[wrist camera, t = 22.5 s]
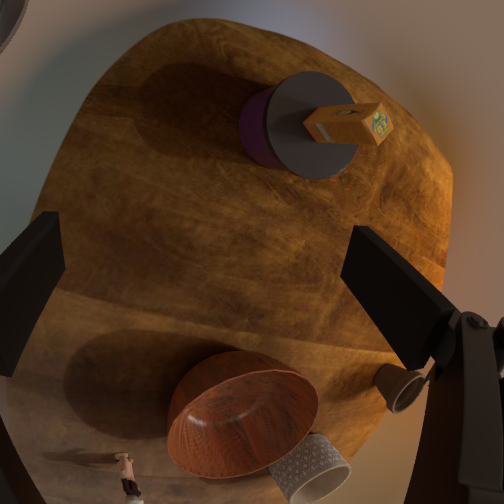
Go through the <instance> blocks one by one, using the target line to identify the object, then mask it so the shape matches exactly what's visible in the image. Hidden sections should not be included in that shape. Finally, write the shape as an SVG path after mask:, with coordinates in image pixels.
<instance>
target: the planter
mask: <svg viewBox="0 0 504 504" xmlns="http://www.w3.org/2000/svg"><path fill="white" fill-rule="evenodd" d="M269 471H270V473H271V475H272V476H273V478H274V479H275V481H276V483H277V484H278V486H279V487H280V489H281V491H282V492H283V494H284V495H285V497H286V498H287V500H288V502H289V503H290V504H312V503H314V502H317V501H319V500H321V499H323V498H324V497H326V496H328V495H329V494H331V493H332V492H334V491H335V490H336V489H338V488H339V487H340V486H341V485H342V484H343V483H344V482H345V481H346V480H347V478H348V477H349V475H350V473H351V466H350V465H349V464H348V463H347V462H346V461H345V459H344V458H343V457H342V456H341V455H340V454H339V452H338V451H337V450H336V449H335V448H334V447H333V445H332V444H331V443H330V442H329V441H328V439H327V438H326V437H325V436H324V435H322V434H310V435H307V436H306V437H305V438H304V439H303V440H302V441H301V442H300V443H299V444H298V445H297V447H296V448H295V449H294V450H292V451H291V452H290V453H288V454H287V455H286V456H284V457H283V458H281V459H280V460H279V461H277V462H275V463H273V464H271V465H269Z"/></svg>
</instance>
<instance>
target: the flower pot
mask: <svg viewBox="0 0 504 504" xmlns="http://www.w3.org/2000/svg"><path fill="white" fill-rule="evenodd" d="M424 379H425V376H424V375H423V374H421V373H420V372H418V371H409V372H408V371H407V370H406V369H404V368H401V367H399V366H396V365H393V364H387V365H385V366H383V367H382V368H381V369H380V370H379V371H378V373H377V374H376V376H375V379H374V383H375V385H376V387H377V388H378V390H379V392H380V393H381V394H382V396H383V397H384V399H385V400H386V402H387V403H386V405H387V408H388V409H389V410H390V411H391V412H392V413H394V414H398V413H401V412H403V411H404V410H406V409H407V408H408V407H409V406H410V405H412V403H413V402H414V401H415V400H416V399H417V397H418V396H419V395H420V393H421V391H422V389H423V387H424V385H423V384H422V383H423V381H424Z"/></svg>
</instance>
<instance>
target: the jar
mask: <svg viewBox="0 0 504 504" xmlns="http://www.w3.org/2000/svg"><path fill="white" fill-rule="evenodd" d="M350 104H355V102H354V100H353V99H352V97H351V95H350V94H349V92H348V91H347V90H346V89H345V87H344V86H343V85H342V84H340V83H339V82H338V81H337V80H335V79H334V78H332V77H330V76H328V75H326V74H323V73H320V72H313V71H307V72H301V73H297V74H294V75H291V76H289V77H287V78H285V79H284V80H282V81H281V82H280V83H278V84H277V85H275V86H272V87H270V88H267V89H264V90H262V91H260V92H258V93H256V94H255V95H253V96H252V97H251V98H250V99H249V100H248V101H247V102H246V104H245V105H244V107H243V109H242V111H241V114H240V117H239V127H238V129H239V136H240V140H241V143H242V145H243V147H244V149H245V151H246V152H247V154H248V155H249V156H250V157H251V158H252V159H253V160H254V161H255V162H256V163H258V164H260V165H261V166H264V167H266V168H269V169H275V170H282V171H288V172H290V173H292V174H294V175H296V176H299V177H302V178H307V179H313V180H320V179H326V178H330V177H332V176H334V175H336V174H338V173H339V172H341V171H342V170H343V169H344V168H346V166H347V165H348V164H349V163H350V161H351V160H352V159H353V157H354V155H355V153H356V150H357V148H358V144H346V143H322V142H316V141H315V139H314V138H313V137H312V135H311V134H310V132H309V131H308V130H307V128H306V127H305V126H304V124H303V122H304V121H305V120H306V119H307V118H308V117H309V116H310V115H311V114H312V113H313V112H314V111H315V110H317V109H318V108H319V107H327V106H337V105H350Z"/></svg>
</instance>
